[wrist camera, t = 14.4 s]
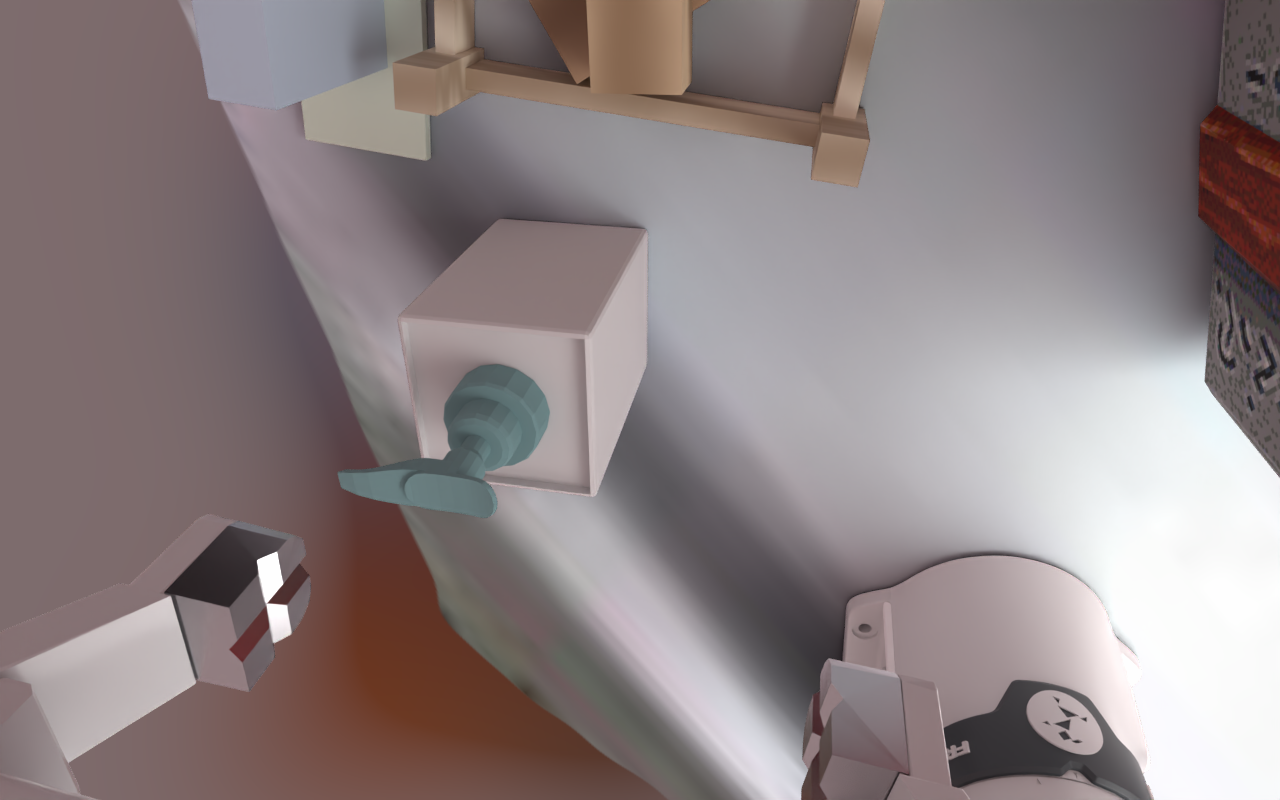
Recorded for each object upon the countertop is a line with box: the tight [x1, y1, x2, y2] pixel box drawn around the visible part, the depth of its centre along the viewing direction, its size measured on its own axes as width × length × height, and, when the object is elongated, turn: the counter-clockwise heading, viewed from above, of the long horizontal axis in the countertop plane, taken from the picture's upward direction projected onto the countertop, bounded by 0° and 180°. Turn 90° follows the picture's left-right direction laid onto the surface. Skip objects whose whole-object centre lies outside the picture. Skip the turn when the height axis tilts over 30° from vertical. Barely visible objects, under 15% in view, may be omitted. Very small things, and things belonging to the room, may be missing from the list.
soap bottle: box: [338, 219, 648, 518], centre depth 39 cm, size 9×9×19 cm
